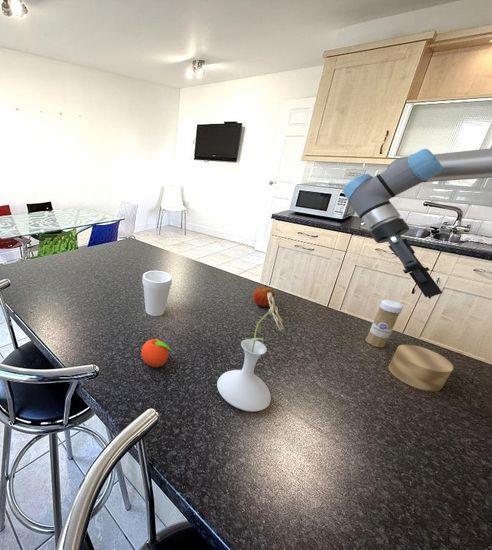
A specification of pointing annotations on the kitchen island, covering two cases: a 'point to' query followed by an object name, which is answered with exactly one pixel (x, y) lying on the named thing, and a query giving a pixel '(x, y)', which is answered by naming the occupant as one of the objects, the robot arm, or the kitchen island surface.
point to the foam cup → (156, 291)
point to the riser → (420, 367)
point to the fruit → (262, 296)
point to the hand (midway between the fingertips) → (434, 295)
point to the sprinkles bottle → (384, 323)
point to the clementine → (155, 353)
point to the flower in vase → (249, 372)
